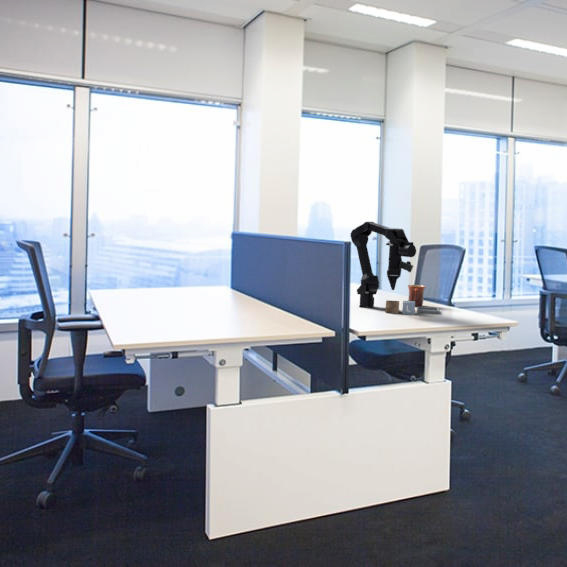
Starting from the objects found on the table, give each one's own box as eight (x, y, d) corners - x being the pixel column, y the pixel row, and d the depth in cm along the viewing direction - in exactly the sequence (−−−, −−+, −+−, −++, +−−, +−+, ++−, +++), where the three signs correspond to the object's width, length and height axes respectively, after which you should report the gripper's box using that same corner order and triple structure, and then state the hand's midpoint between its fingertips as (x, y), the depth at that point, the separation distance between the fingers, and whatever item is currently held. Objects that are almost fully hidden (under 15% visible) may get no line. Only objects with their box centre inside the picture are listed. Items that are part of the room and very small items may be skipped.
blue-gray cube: (402, 313, 275) (402, 302, 275) (402, 312, 281) (403, 300, 280) (414, 314, 274) (415, 302, 274) (414, 312, 280) (415, 301, 279)
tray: (417, 312, 279) (417, 309, 279) (416, 309, 289) (417, 306, 289) (438, 314, 277) (439, 311, 277) (437, 311, 287) (438, 307, 287)
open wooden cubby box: (385, 312, 277) (385, 302, 276) (385, 310, 283) (386, 300, 282) (398, 313, 275) (399, 302, 275) (398, 311, 281) (399, 301, 281)
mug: (406, 304, 307) (407, 284, 306) (424, 305, 305) (425, 285, 304) (406, 307, 295) (407, 287, 294) (424, 308, 293) (426, 288, 292)
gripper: (412, 257, 265) (410, 292, 267) (412, 255, 283) (410, 287, 285) (387, 256, 268) (385, 290, 269) (389, 254, 286) (387, 286, 287)
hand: (393, 288), depth 278 cm, fingers open, 9 cm apart
